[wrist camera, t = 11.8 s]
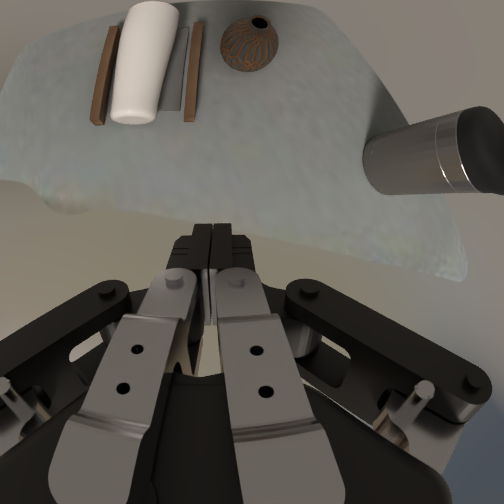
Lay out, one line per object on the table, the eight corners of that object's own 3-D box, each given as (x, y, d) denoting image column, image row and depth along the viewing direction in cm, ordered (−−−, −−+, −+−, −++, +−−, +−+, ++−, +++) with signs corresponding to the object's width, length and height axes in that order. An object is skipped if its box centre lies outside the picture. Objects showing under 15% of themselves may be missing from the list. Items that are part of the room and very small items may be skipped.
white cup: (93, 115, 24) (120, 4, 21) (116, 127, 30) (135, 29, 27) (153, 111, 24) (176, -3, 21) (167, 126, 31) (183, 25, 28)
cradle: (201, 30, 30) (203, 20, 27) (193, 121, 32) (194, 115, 29) (113, 33, 27) (110, 23, 25) (95, 125, 29) (89, 119, 26)
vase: (271, 79, 33) (295, 48, 25) (218, 79, 32) (230, 44, 23) (264, 39, 32) (285, 5, 24) (215, 38, 31) (226, 0, 22)
